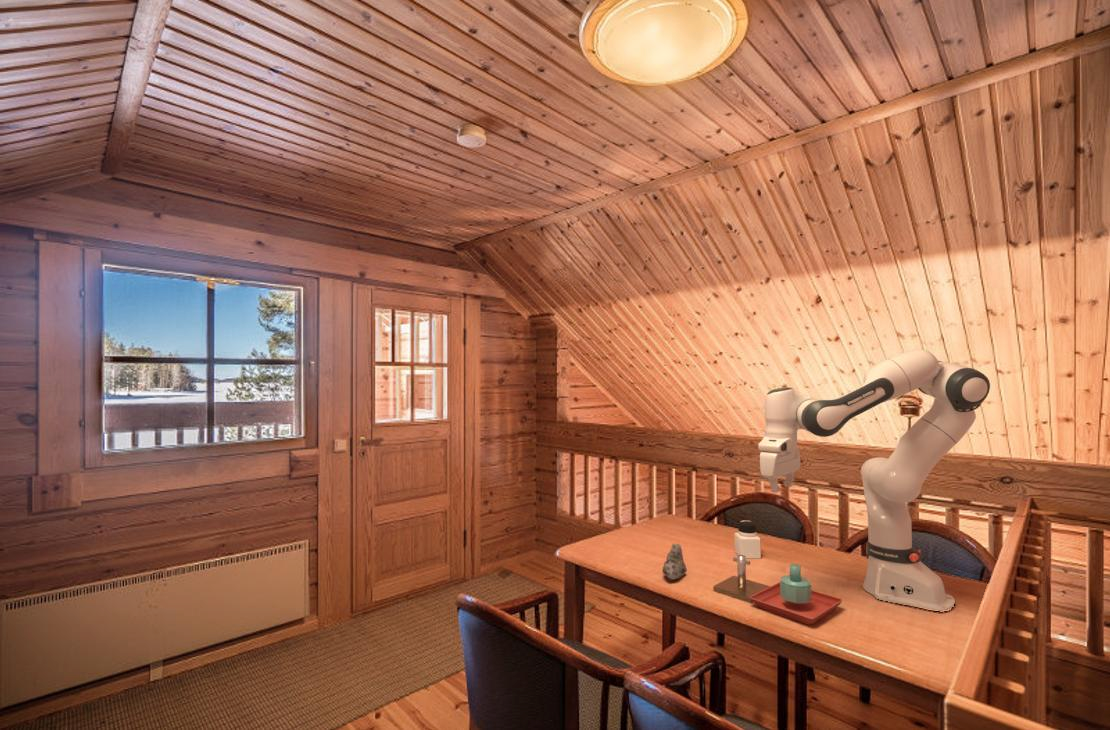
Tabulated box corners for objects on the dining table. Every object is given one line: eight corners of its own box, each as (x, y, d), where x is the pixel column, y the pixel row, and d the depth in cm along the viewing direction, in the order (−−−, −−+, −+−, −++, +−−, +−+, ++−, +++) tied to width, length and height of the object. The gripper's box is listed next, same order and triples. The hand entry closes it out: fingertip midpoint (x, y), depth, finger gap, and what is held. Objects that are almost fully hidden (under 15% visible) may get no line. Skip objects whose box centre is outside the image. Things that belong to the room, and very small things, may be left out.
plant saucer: (748, 608, 151) (748, 596, 151) (781, 591, 162) (781, 580, 162) (812, 631, 137) (812, 618, 137) (844, 611, 148) (843, 599, 148)
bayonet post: (770, 591, 161) (770, 556, 161) (751, 603, 153) (750, 566, 153) (733, 580, 170) (733, 546, 170) (713, 591, 162) (713, 556, 162)
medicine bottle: (761, 558, 189) (760, 524, 189) (740, 558, 189) (740, 524, 190) (754, 552, 196) (753, 519, 196) (734, 552, 196) (734, 519, 197)
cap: (787, 590, 155) (786, 559, 155) (814, 597, 150) (813, 565, 150) (776, 597, 150) (776, 566, 150) (804, 605, 145) (804, 572, 145)
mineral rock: (670, 585, 167) (670, 552, 167) (645, 574, 175) (645, 544, 175) (698, 575, 174) (697, 544, 174) (672, 566, 183) (672, 536, 183)
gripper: (784, 438, 169) (785, 482, 168) (755, 445, 154) (756, 493, 154) (805, 439, 164) (806, 485, 164) (777, 447, 150) (778, 496, 150)
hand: (781, 489), depth 159 cm, fingers open, 8 cm apart
